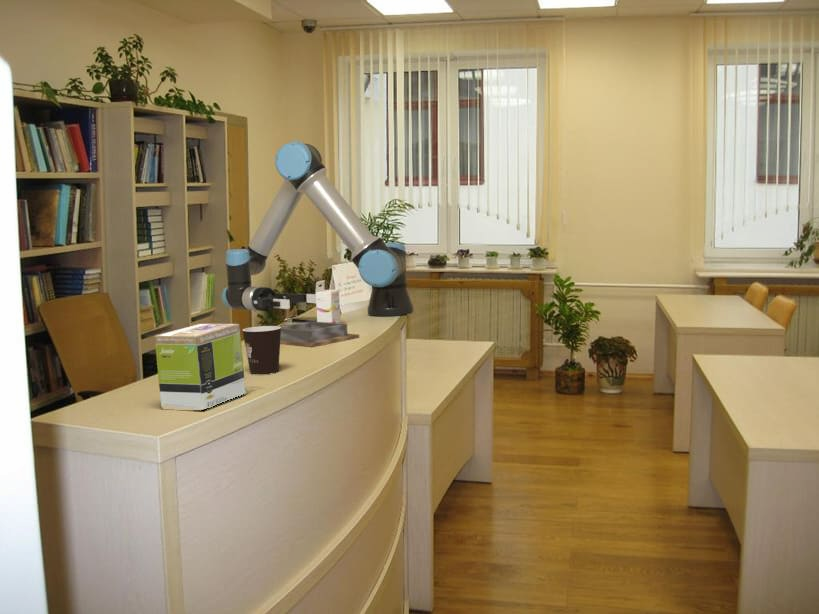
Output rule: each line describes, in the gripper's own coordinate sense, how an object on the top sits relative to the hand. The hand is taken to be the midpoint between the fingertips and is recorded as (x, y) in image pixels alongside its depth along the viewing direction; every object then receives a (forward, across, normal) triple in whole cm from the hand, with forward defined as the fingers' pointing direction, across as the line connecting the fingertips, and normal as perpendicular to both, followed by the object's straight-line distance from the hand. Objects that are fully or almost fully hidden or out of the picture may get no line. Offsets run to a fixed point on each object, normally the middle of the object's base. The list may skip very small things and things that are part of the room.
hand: (305, 301), depth 281 cm
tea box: (+59, +82, -8) cm, 101 cm away
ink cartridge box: (+10, 0, -8) cm, 13 cm away
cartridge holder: (+19, +16, -8) cm, 26 cm away
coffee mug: (+44, +54, -8) cm, 70 cm away
